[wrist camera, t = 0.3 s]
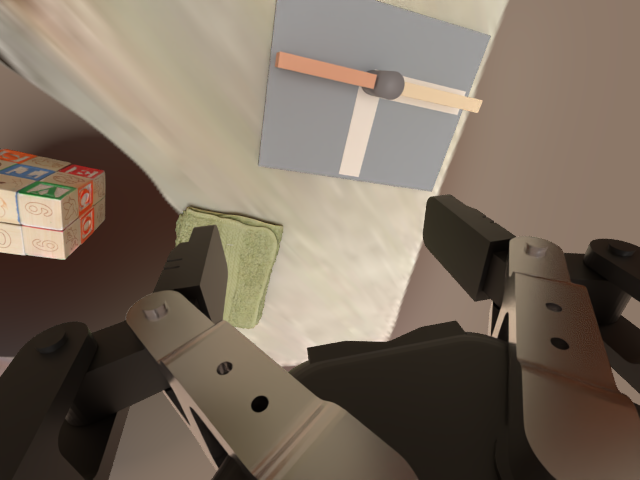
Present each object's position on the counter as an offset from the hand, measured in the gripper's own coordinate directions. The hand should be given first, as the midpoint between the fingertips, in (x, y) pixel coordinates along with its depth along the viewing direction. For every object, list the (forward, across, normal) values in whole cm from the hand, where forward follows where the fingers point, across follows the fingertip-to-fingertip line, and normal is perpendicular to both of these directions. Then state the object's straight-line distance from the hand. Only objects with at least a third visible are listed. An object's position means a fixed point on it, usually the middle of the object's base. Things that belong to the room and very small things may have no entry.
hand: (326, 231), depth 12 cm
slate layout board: (+27, -10, -1) cm, 29 cm away
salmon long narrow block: (+26, -5, -4) cm, 27 cm away
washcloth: (+27, +10, +19) cm, 34 cm away
